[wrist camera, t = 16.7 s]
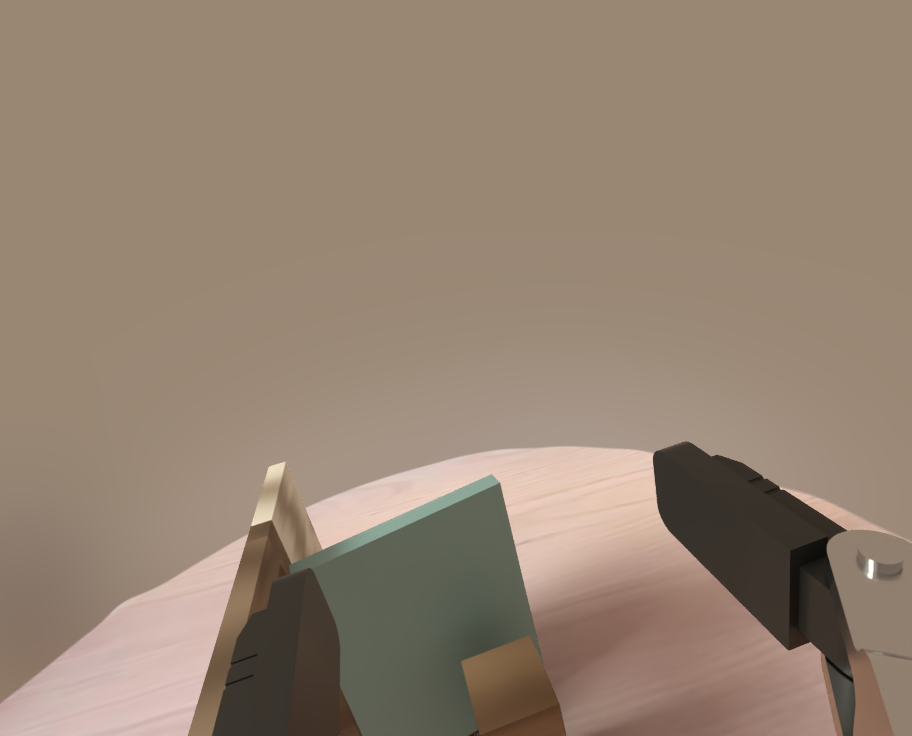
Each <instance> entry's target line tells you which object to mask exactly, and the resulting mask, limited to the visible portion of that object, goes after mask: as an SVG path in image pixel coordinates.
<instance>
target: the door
mask: <svg viewBox="0 0 912 736" xmlns="http://www.w3.org/2000/svg"><path fill="white" fill-rule="evenodd" d="M306 568H311V569H312V570H313V572H314V574H315V576H316V578H317V580H318V583H319V585H320V587H321V590H322V592H323V594H324V596H325V599H326V601H327V603H328V606H329V608H330V610H331V613H332V615H333V617H334V620H335V623H336V626H337V630H338V635H339V641H340V688H341V690H342V692H343V694H344V696H345V698H346V701H347V703H348V705H349V707H350V709H351V712H352V714H353V716H354V718H355V720H356V722H357V725H358V727H359V729H360V731H361V733H362V736H469V735H470V734H472V733H474V732H475V731H477V730H478V726H477V722H476V718H475V714H474V711H473V707H472V703H471V699H470V695H469V691H468V687H467V683H466V679H465V675H464V671H463V667H462V663H461V661H463V660H465V659H468V658H471V657H473V656H476V655H479V654H481V653H484V652H487V651H489V650H492V649H495V648H497V647H500V646H503V645H505V644H508V643H511V642H513V641H516V640H518V639H521V638H524V637H526V636H529V635H530V637H531V639H532V642H533V644H534V646H535V649H536V651H537V653H538V656H539V658H540V660H541V663H542V665H543V662H542V658H541V654H540V649H539V645H538V641H537V637H536V633H535V628H534V624H533V620H532V616H531V611H530V607H529V603H528V599H527V595H526V590H525V586H524V582H523V578H522V574H521V569H520V565H519V561H518V557H517V553H516V548H515V544H514V540H513V536H512V531H511V527H510V523H509V519H508V515H507V510H506V506H505V502H504V498H503V494H502V489H501V485H500V482H499V481H498V480H497V479H496V478H495V477H494V476H493V475H492V474H491V475H489V476H487V477H485V478H482V479H480V480H478V481H476V482H473V483H471V484H469V485H467V486H464V487H462V488H460V489H458V490H455V491H453V492H451V493H449V494H447V495H444V496H442V497H440V498H438V499H435V500H433V501H431V502H429V503H426V504H424V505H422V506H420V507H418V508H415V509H413V510H411V511H409V512H406V513H404V514H402V515H400V516H397V517H395V518H393V519H391V520H389V521H386V522H384V523H382V524H380V525H377V526H375V527H373V528H371V529H368V530H366V531H364V532H362V533H360V534H357V535H355V536H353V537H351V538H348V539H346V540H344V541H342V542H339V543H337V544H335V545H333V546H330V547H328V548H326V549H324V550H322V551H319V552H317V553H315V554H313V555H310V556H308V557H306V558H304V559H301V560H299V561H297V562H295V563H293V564H290V565H289V569H290V574H292V573H294V572H297V571H300V570H303V569H306ZM543 667H544V666H543Z"/></svg>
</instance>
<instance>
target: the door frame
mask: <svg viewBox="0 0 912 736" xmlns="http://www.w3.org/2000/svg"><path fill="white" fill-rule="evenodd" d="M319 551H322V548H321V545H320V543H319V540H318V538H317V536H316V533H315V531H314V528H313V526H312V523H311V521H310V519H309V516H308V514H307V511H306V509H305V507H304V505H303V502H302V500H301V497H300V495H299V493H298V490H297V488H296V485H295V483H294V480H293V478H292V475H291V473H290V471H289V469H288V466H287V463H286V462H283V463H279V464H276V465H273V466H270V467H269V468H268V472H267V475H266V478H265V482H264V485H263V488H262V492H261V495H260V498H259V501H258V505H257V508H256V511H255V515H254V518H253V521H252V525H251V528H250V531H249V535H248V538H247V541H246V545H245V548H244V551H243V555H242V558H241V561H240V564H239V568H238V571H237V574H236V578H235V581H234V584H233V588H232V591H231V594H230V598H229V601H228V604H227V608H226V611H225V614H224V618H223V621H222V624H221V627H220V631H219V634H218V637H217V641H216V644H215V647H214V651H213V654H212V657H211V661H210V664H209V667H208V671H207V674H206V677H205V681H204V684H203V687H202V690H201V694H200V697H199V700H198V704H197V707H196V710H195V714H194V717H193V720H192V724H191V727H190V730H189V734H188V736H212V733H213V729H214V725H215V721H216V718H217V714H218V710H219V706H220V702H221V698H222V694H223V690H225V689H226V686H225V682H226V678H227V675H228V671H229V668H231V664H230V663H231V659H232V655H233V651H234V647H235V643H236V639H237V637H238V636H239V634H240V633H241V631H242V629H243V628H244V626H245V625H246V623H247V622H248V620H249V618H250V617H251V615H252V614H253V613H256V612H259V611H262V610H265V609H267V605H268V600H269V595H270V590H271V585H272V582H273V580H274V579H277V578H280V577H283V576H286V575H289V574H290V569H289V565H290V564H293V563H295V562H297V561H299V560H301V559H304V558H306V557H308V556H310V555H313V554H315V553H317V552H319ZM339 736H362V733H361V731H360V729H359V727H358V725H357V722H356V720H355V718H354V716H353V714H352V712H351V709H350V707H349V705H348V703H347V701H346V698H345V696H344V694H343V692H342V690H341V688H340V710H339Z"/></svg>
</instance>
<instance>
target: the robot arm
mask: <svg viewBox="0 0 912 736" xmlns="http://www.w3.org/2000/svg"><path fill="white" fill-rule="evenodd" d="M653 465H654V475H655V485H656V495H657V504H658V510H659V513H660V516H661V518H662V520H663V522H664V524H665V525H666V527H667V529H668V530H669V531H670V532H671V533H672V534H673V535H674V536H675V537H676V538H677V539H678V540H679V541H680V542H681V543H682V544H683V545H684V546H685V547H686V548H687V549H688V550H689V551H690V552H691V553H692V554H693V555H694V556H695V557H696V558H697V559H698V560H699V561H700V563H701V564H702V565H703V566H704V567H705V568H706V569H707V570H708V571H709V572H710V573H711V574H712V575H713V576H714V577H715V578H716V579H717V580H718V581H719V582H720V583H721V584H722V585H723V586H724V587H725V588H726V589H727V590H728V591H729V592H730V593H731V594H732V595H733V596H734V597H735V598H736V599H737V600H738V601H739V602H740V603H741V604H742V605H743V606H744V607H745V608H746V609H747V610H748V611H749V612H750V613H751V614H752V615H753V616H754V617H755V618H756V619H757V620H758V621H759V622H760V623H761V624H762V625H763V626H764V627H765V628H766V629H767V630H768V631H769V632H770V633H771V634H772V635H773V636H774V637H775V638H776V639H777V640H778V641H779V642H780V643H781V644H782V645H783V646H784V647H785V648H786V649H787V650H788V651H789V650H792V649H794V648H797V647H799V646H802V645H804V644H807V643H809V642H811V643H812V644H813V645H814V646H816V647H817V648H818V649H819V650H820V651H821V665H822V670H823V675H824V679H825V684H826V688H827V693H828V697H829V702H830V706H831V711H832V716H833V720H834V725H835V729H836V734H837V736H912V544H911V543H909V542H907V541H905V540H903V539H900V538H898V537H895V536H892V535H889V534H886V533H881V532H876V531H869V530H851V531H847V530H846V529H844V528H842V527H841V526H839V525H838V524H836V523H835V522H833V521H832V520H830V519H828V518H827V517H825V516H824V515H822V514H821V513H819V512H818V511H816V510H814V509H813V508H811V507H810V506H808V505H807V504H805V503H804V502H802V501H801V500H799V499H797V498H796V497H794V496H793V495H791V494H790V493H788V492H787V491H785V490H780V488H779V486H777V485H775V484H774V483H773V482H771V481H769V480H768V479H764V478H763V477H762V475H760V474H759V473H757V472H756V471H754V470H752V469H751V468H749V467H748V466H746V465H745V464H743V463H741V462H738V461H734V460H732V459H729V458H726V457H723V456H719V455H715V456H712V457H711V456H709V455H708V454H707V453H705V452H704V451H702V450H701V449H699V448H698V447H696V446H695V445H693V444H692V443H690V442H682V443H679V444H676V445H673V446H671V447H668V448H665V449H662V450H659V451H656V452H655V453H654V455H653ZM230 664H231V668H229V671H228V675H227V678H226V682H225V686H226V689H225V690H223V694H222V698H221V702H220V706H219V710H218V714H217V718H216V721H215V725H214V729H213V733H212V736H339V710H340V641H339V635H338V630H337V626H336V623H335V620H334V617H333V615H332V613H331V610H330V608H329V606H328V603H327V601H326V599H325V596H324V594H323V592H322V590H321V587H320V585H319V583H318V580H317V578H316V576H315V574H314V572H313V570H312V569H311V568H306V569H303V570H300V571H297V572H294V573H292V574H289V575H286V576H283V577H280V578H277V579H274V580H273V582H272V585H271V590H270V595H269V600H268V605H267V609H265V610H262V611H259V612H256V613H253V614H252V615H251V617H250V618H249V620H248V622H247V623H246V625H245V626H244V628H243V629H242V631H241V633H240V634H239V636H238V637H237V639H236V643H235V647H234V651H233V655H232V659H231V663H230Z"/></svg>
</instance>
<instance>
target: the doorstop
mask: <svg viewBox="0 0 912 736" xmlns="http://www.w3.org/2000/svg"><path fill="white" fill-rule="evenodd" d="M461 663H462V667H463V671H464V675H465V679H466V683H467V687H468V691H469V695H470V699H471V703H472V707H473V711H474V714H475V718H476V722H477V726H478V730H479V734H480V736H566V731H565V727H564V723H563V718H562V714H561V709H560V705H559V702H558V700H557V698H556V695H555V693H554V691H553V688H552V686H551V684H550V681H549V679H548V677H547V674H546V672H545V670H544V667H543V665H542V663H541V660H540V658H539V656H538V653H537V651H536V649H535V646H534V644H533V642H532V639H531V637H530V635H529V636H526V637H524V638H521V639H518V640H516V641H513V642H511V643H508V644H505V645H503V646H500V647H497V648H495V649H492V650H489V651H487V652H484V653H481V654H479V655H476V656H473V657H471V658H468V659H465V660H463V661H461Z"/></svg>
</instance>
